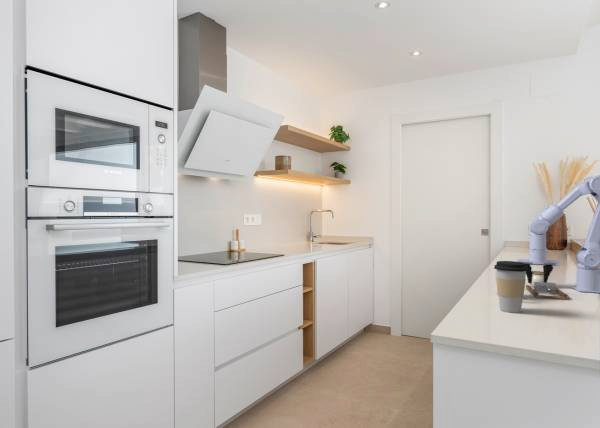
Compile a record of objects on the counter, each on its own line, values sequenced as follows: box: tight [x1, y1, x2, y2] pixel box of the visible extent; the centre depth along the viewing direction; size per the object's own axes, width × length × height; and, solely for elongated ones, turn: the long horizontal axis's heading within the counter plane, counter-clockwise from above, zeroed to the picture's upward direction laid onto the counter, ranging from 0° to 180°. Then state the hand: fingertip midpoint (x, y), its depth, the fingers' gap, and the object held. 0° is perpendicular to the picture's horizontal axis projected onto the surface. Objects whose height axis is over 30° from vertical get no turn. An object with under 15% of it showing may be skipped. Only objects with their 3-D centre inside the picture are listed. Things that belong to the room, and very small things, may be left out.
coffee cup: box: [493, 260, 528, 314], centre depth 126 cm, size 9×9×15 cm
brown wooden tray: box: [525, 284, 570, 301], centre depth 150 cm, size 10×16×2 cm, turn 162°
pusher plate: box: [533, 281, 557, 295], centre depth 148 cm, size 7×8×4 cm
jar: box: [529, 270, 545, 288], centre depth 162 cm, size 5×5×6 cm
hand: (537, 283), depth 162 cm, fingers closed on jar, 5 cm apart
